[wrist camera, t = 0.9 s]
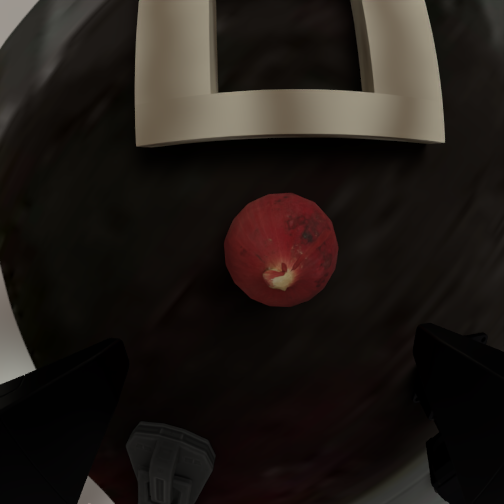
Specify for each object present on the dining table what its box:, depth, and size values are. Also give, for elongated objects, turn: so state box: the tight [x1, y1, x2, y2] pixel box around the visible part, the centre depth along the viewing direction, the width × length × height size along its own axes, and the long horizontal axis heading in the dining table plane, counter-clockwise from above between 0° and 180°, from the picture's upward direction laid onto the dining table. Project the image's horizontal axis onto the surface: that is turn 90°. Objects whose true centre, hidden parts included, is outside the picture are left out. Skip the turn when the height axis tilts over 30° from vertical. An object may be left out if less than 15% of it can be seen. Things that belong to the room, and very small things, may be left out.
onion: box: [224, 193, 338, 307], centre depth 16 cm, size 6×6×8 cm
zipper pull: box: [126, 421, 216, 504], centre depth 26 cm, size 9×7×25 cm
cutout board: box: [135, 0, 445, 147], centre depth 15 cm, size 18×14×2 cm
